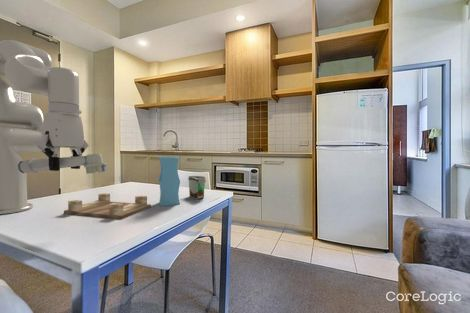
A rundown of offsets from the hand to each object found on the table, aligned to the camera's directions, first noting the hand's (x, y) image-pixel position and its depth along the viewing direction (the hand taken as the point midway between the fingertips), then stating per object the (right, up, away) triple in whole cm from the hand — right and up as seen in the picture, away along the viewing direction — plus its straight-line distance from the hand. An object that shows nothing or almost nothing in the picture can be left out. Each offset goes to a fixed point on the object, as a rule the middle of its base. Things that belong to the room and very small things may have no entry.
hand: (65, 169), depth 68 cm
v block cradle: (+4, -17, +17) cm, 24 cm away
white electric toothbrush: (0, -2, 0) cm, 2 cm away
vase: (+24, -17, +28) cm, 41 cm away
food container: (+35, -16, +40) cm, 56 cm away
